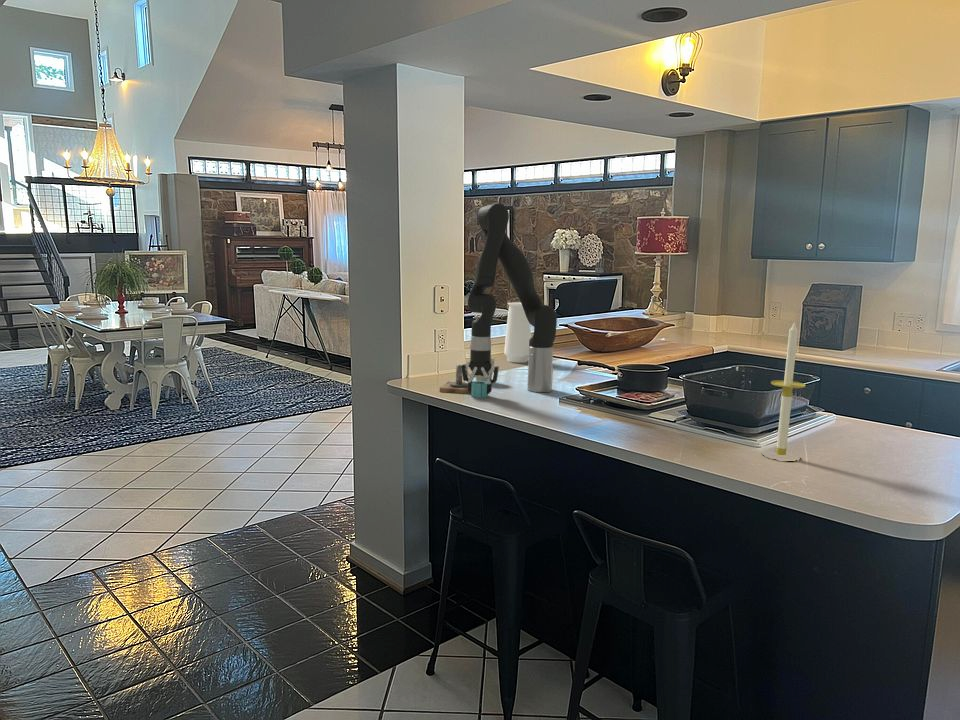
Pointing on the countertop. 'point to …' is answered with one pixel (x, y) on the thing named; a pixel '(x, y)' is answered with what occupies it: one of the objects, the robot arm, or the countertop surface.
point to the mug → (482, 378)
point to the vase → (517, 334)
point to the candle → (787, 391)
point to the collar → (479, 389)
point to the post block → (456, 384)
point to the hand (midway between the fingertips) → (479, 392)
